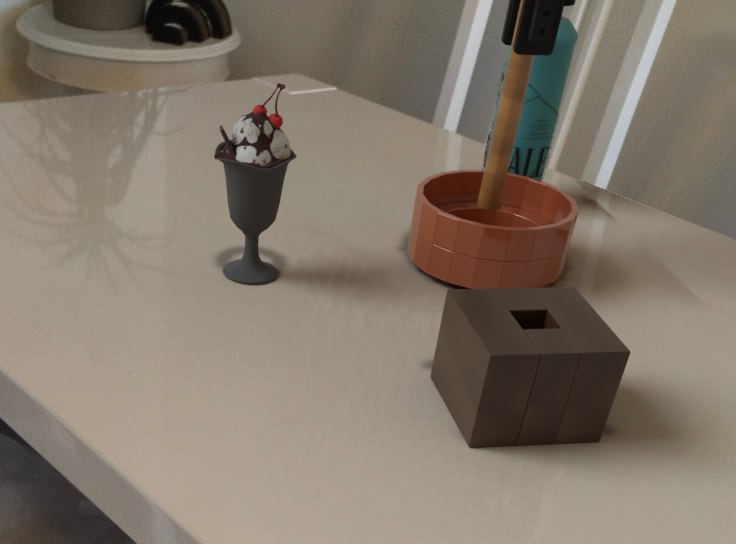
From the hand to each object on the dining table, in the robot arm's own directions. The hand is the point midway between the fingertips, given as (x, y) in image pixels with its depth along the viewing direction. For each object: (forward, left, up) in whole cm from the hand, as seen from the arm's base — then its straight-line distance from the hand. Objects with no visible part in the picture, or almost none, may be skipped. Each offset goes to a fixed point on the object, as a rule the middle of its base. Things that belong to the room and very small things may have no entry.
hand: (526, 47), depth 78 cm
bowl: (0, 0, -18) cm, 18 cm away
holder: (+6, +25, -18) cm, 31 cm away
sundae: (+22, +1, -18) cm, 28 cm away
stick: (0, 0, -12) cm, 12 cm away
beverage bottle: (-8, -16, -18) cm, 25 cm away
